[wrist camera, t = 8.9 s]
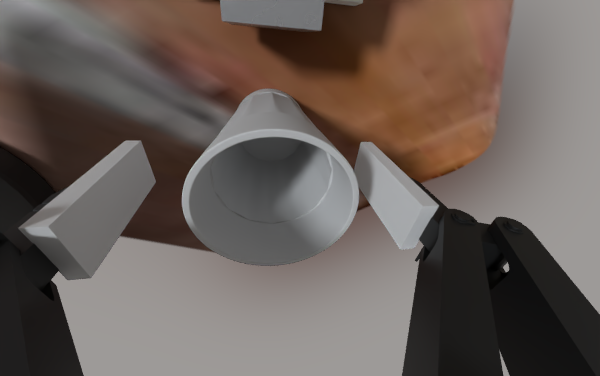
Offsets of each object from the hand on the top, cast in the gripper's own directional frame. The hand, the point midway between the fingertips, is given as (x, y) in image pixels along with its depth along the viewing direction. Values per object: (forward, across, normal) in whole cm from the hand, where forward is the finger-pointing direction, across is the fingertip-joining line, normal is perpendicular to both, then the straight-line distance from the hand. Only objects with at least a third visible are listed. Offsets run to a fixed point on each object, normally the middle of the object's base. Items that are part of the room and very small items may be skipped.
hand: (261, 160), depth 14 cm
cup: (+7, +1, 0) cm, 7 cm away
